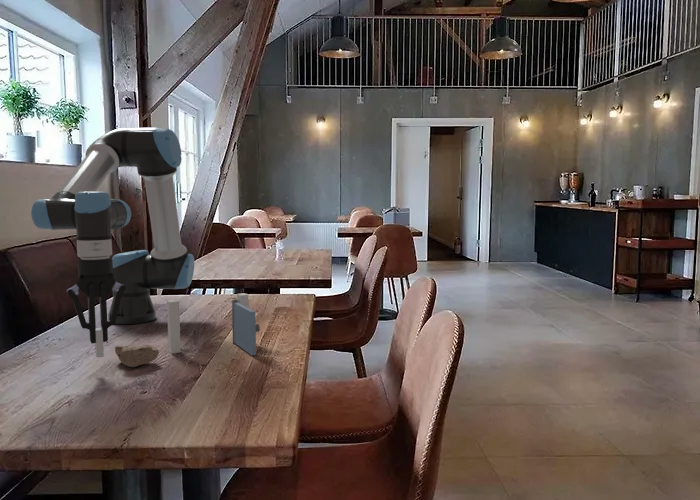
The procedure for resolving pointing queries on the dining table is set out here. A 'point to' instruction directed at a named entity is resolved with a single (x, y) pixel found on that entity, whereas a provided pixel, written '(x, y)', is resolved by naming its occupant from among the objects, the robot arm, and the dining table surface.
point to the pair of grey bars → (175, 322)
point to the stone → (136, 354)
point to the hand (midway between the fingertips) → (99, 355)
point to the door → (244, 327)
